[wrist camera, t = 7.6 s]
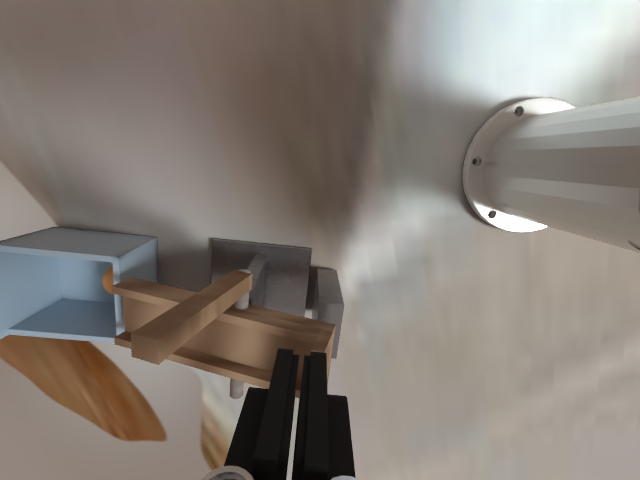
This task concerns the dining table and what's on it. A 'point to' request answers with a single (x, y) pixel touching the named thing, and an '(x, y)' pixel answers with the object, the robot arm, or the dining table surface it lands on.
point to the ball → (108, 280)
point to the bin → (69, 282)
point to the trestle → (281, 279)
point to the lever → (216, 329)
